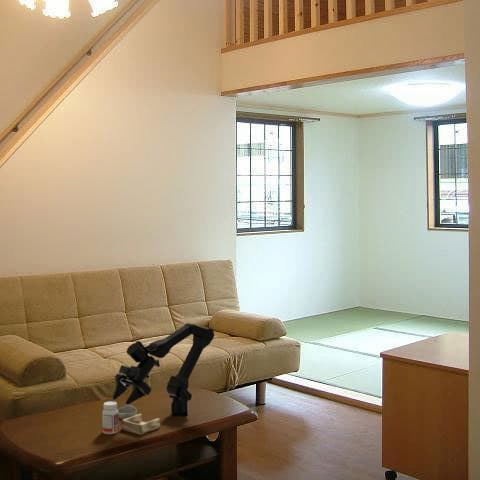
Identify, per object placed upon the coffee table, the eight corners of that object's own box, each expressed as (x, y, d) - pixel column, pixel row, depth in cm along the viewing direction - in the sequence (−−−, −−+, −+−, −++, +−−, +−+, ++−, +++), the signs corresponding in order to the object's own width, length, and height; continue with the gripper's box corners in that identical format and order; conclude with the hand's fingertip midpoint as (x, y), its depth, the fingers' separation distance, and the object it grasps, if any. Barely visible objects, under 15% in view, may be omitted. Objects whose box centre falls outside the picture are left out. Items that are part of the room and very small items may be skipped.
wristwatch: (139, 416, 282) (139, 404, 281) (133, 420, 275) (133, 408, 275) (119, 414, 284) (119, 402, 284) (112, 418, 278) (112, 406, 278)
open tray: (140, 422, 273) (140, 413, 273) (159, 427, 267) (159, 418, 266) (121, 429, 264) (121, 420, 264) (140, 434, 258) (140, 425, 258)
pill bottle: (116, 428, 266) (116, 400, 265) (120, 433, 260) (120, 404, 259) (100, 430, 263) (100, 402, 262) (104, 435, 257) (104, 406, 257)
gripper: (118, 353, 273) (94, 385, 266) (144, 361, 260) (120, 394, 253) (134, 369, 279) (111, 401, 272) (161, 378, 265) (137, 411, 258)
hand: (119, 401), depth 264 cm, fingers open, 9 cm apart
